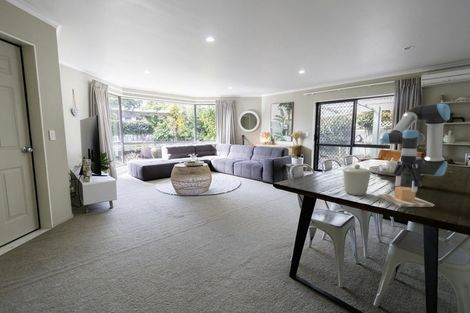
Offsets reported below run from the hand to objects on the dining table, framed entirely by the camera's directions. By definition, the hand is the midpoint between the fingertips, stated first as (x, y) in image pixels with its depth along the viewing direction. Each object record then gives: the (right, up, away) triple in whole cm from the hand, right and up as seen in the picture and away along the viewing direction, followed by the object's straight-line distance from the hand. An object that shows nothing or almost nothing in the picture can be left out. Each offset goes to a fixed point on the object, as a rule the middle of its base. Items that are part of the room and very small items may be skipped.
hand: (405, 188), depth 139 cm
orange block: (0, -7, +1) cm, 7 cm away
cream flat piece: (0, -8, +1) cm, 8 cm away
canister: (-22, -6, +18) cm, 29 cm away
